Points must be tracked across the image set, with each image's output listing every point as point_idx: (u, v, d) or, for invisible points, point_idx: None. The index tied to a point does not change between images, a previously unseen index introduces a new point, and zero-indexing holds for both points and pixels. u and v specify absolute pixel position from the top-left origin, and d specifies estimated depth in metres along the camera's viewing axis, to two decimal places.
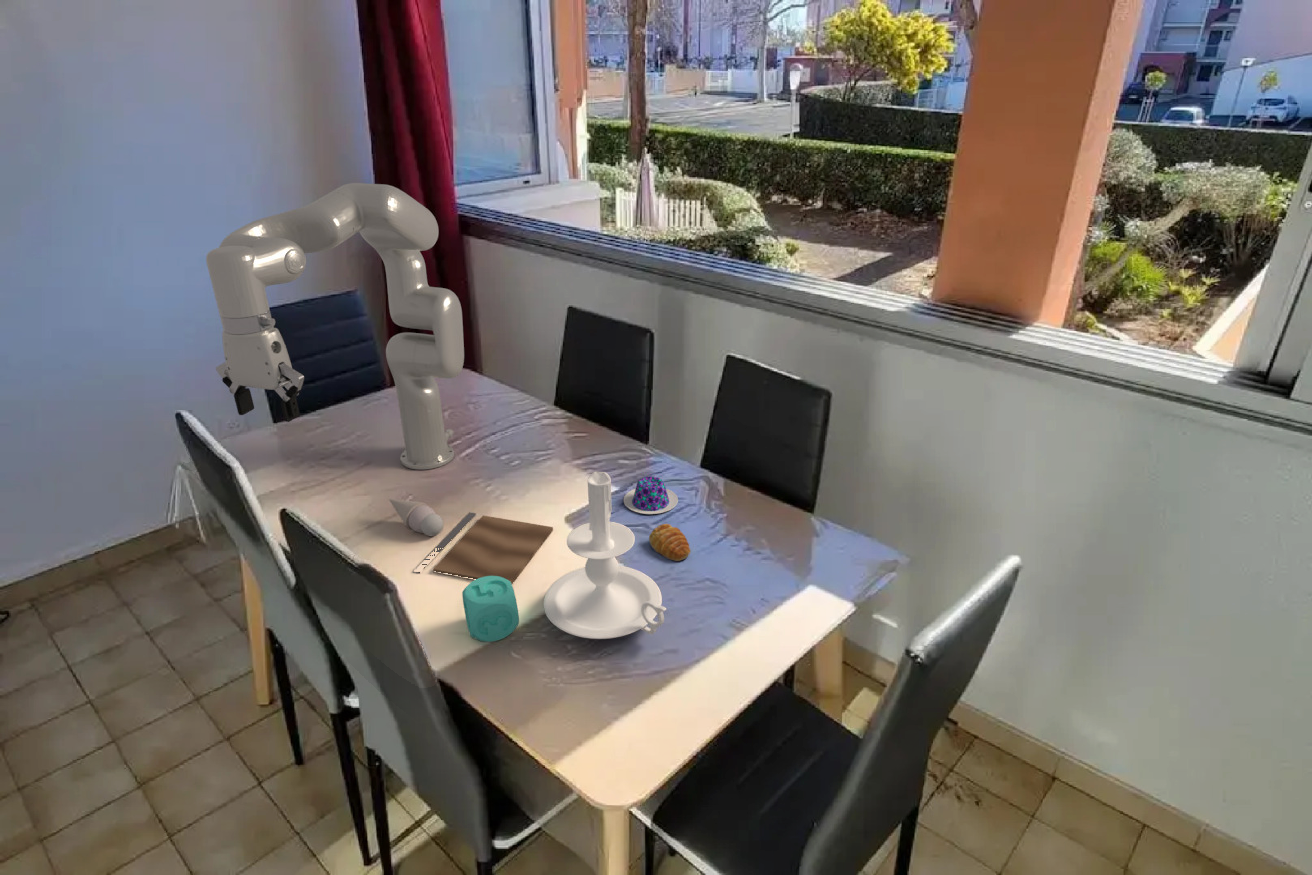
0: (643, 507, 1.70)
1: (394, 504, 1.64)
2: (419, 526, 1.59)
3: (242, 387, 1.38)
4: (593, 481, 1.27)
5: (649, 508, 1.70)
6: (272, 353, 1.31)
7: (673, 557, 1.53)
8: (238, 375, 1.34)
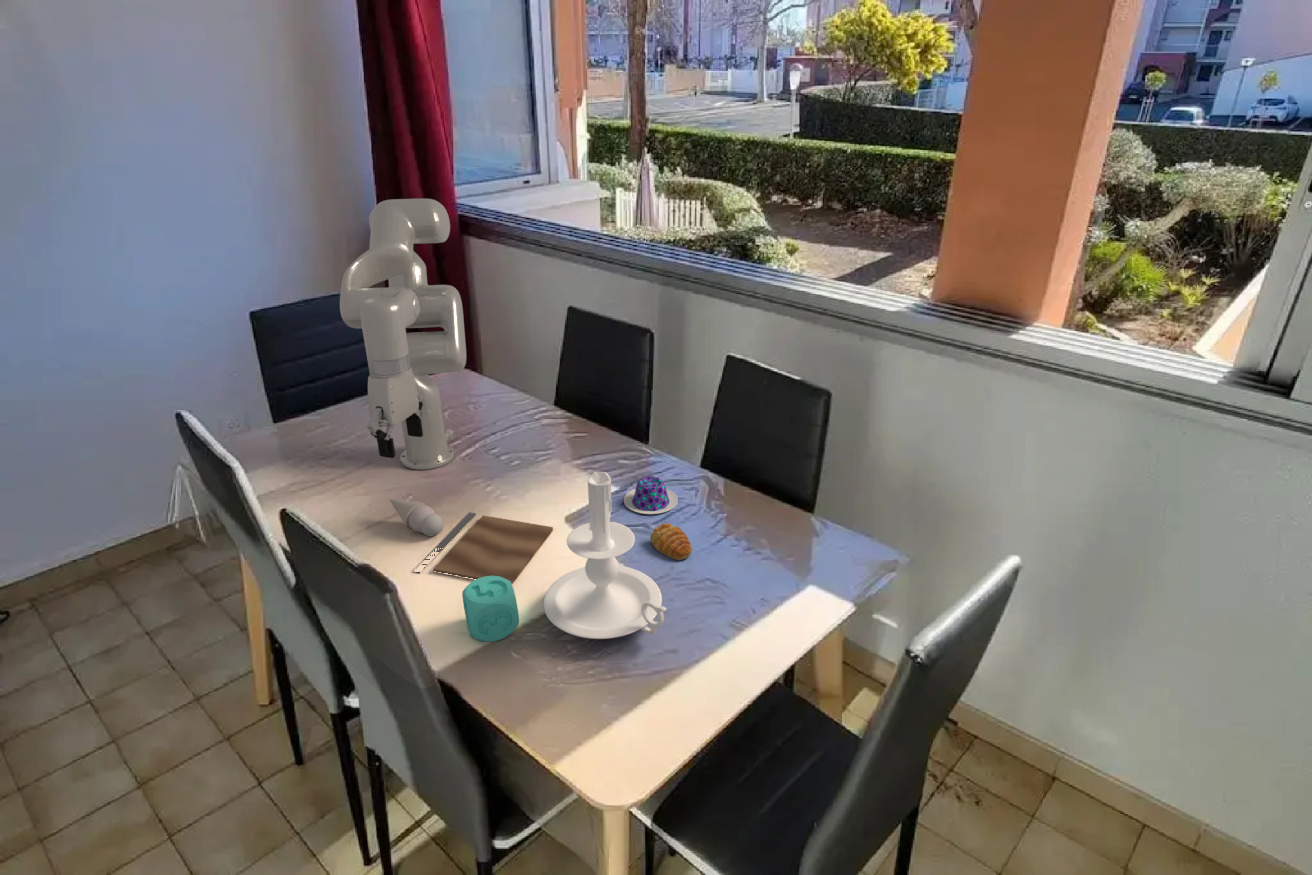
0: (643, 507, 1.70)
1: (394, 504, 1.63)
2: (419, 526, 1.59)
3: None
4: (593, 481, 1.27)
5: (649, 508, 1.70)
6: None
7: (675, 556, 1.53)
8: (399, 413, 1.49)
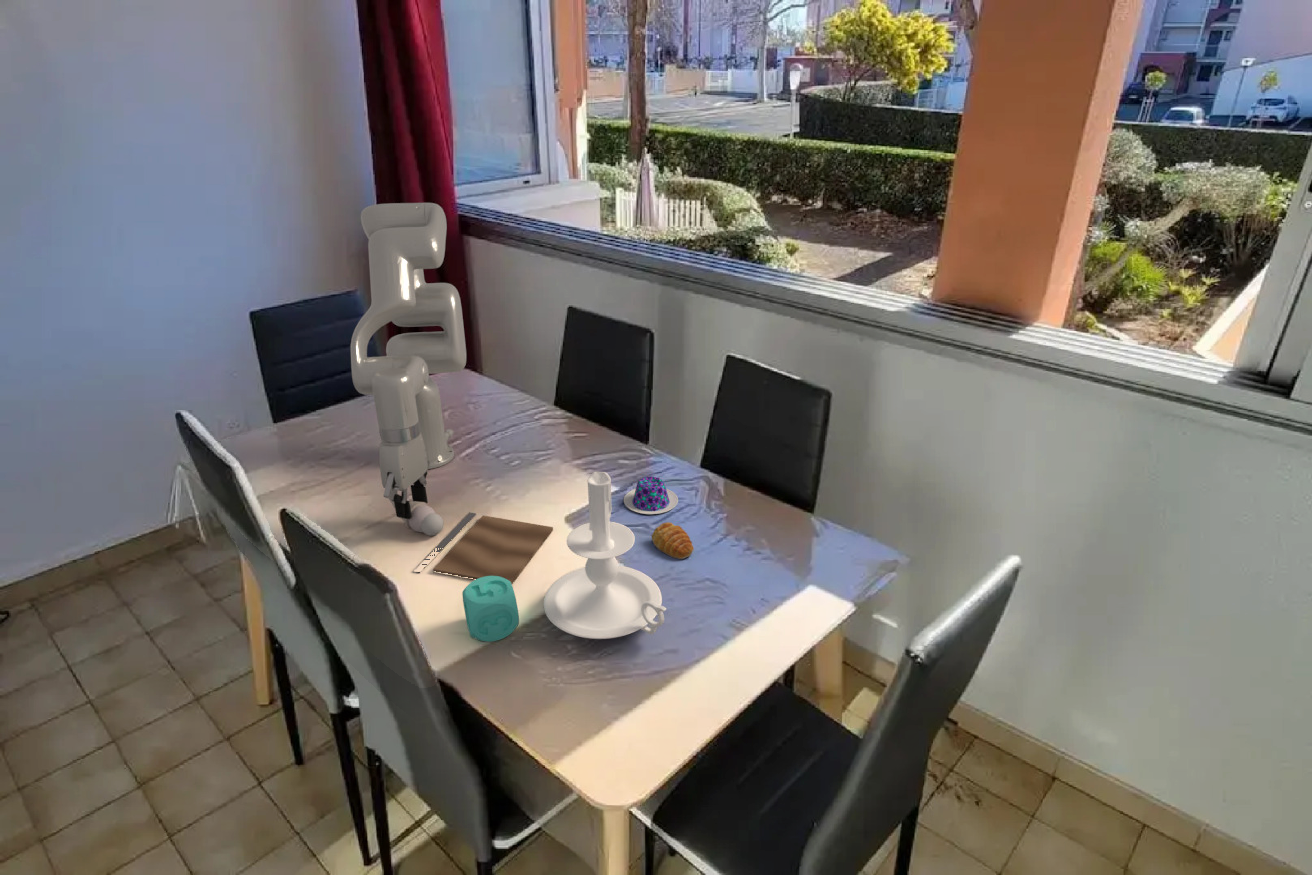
0: (643, 507, 1.70)
1: (394, 504, 1.63)
2: (419, 526, 1.59)
3: None
4: (593, 481, 1.27)
5: (649, 508, 1.70)
6: None
7: (676, 555, 1.53)
8: (409, 477, 1.55)
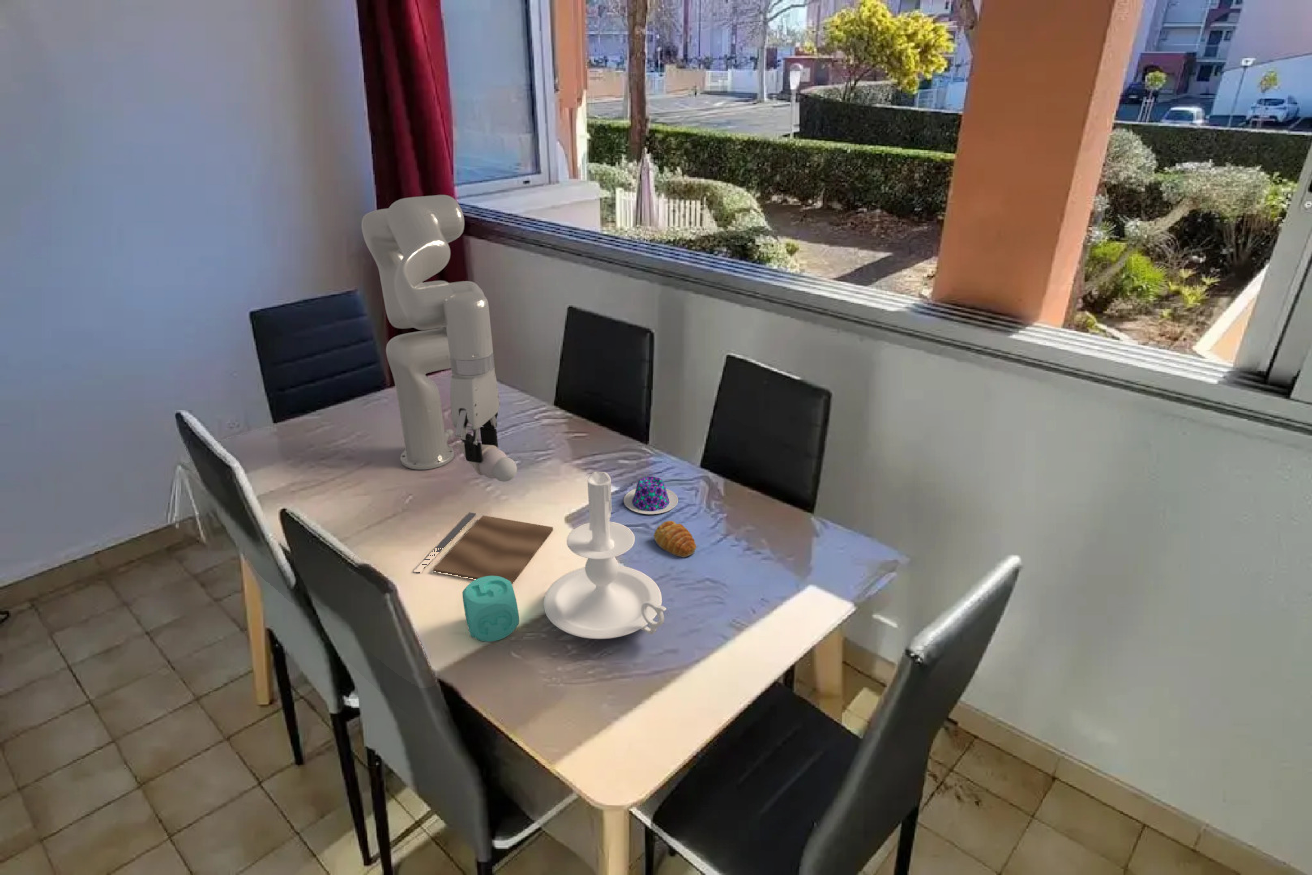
0: (641, 507, 1.70)
1: (461, 448, 1.49)
2: (491, 470, 1.44)
3: None
4: (593, 481, 1.27)
5: (647, 508, 1.70)
6: None
7: (680, 553, 1.54)
8: (482, 415, 1.40)
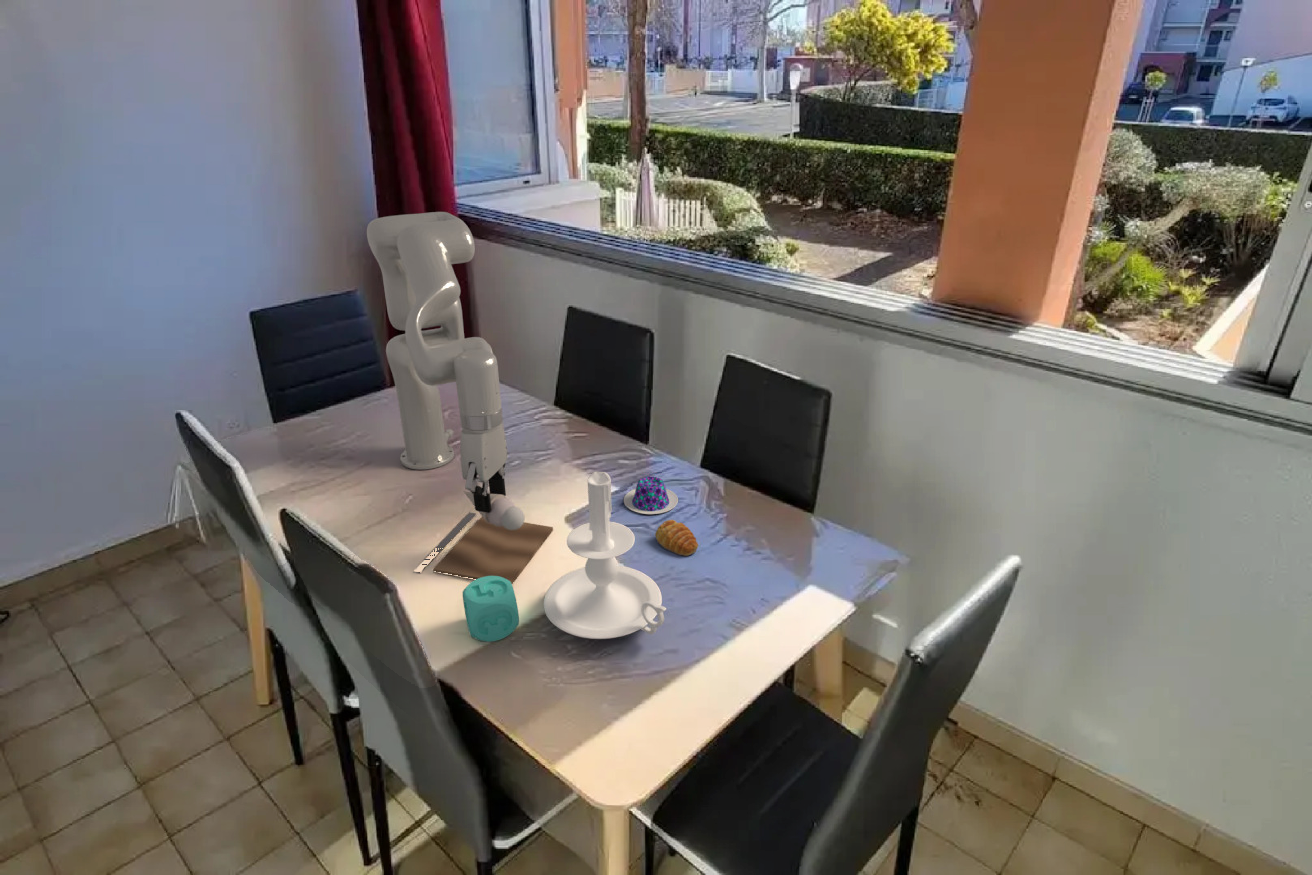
0: (640, 506, 1.70)
1: (470, 497, 1.53)
2: (500, 520, 1.49)
3: None
4: (593, 481, 1.27)
5: (646, 508, 1.70)
6: None
7: (682, 552, 1.54)
8: (491, 468, 1.45)
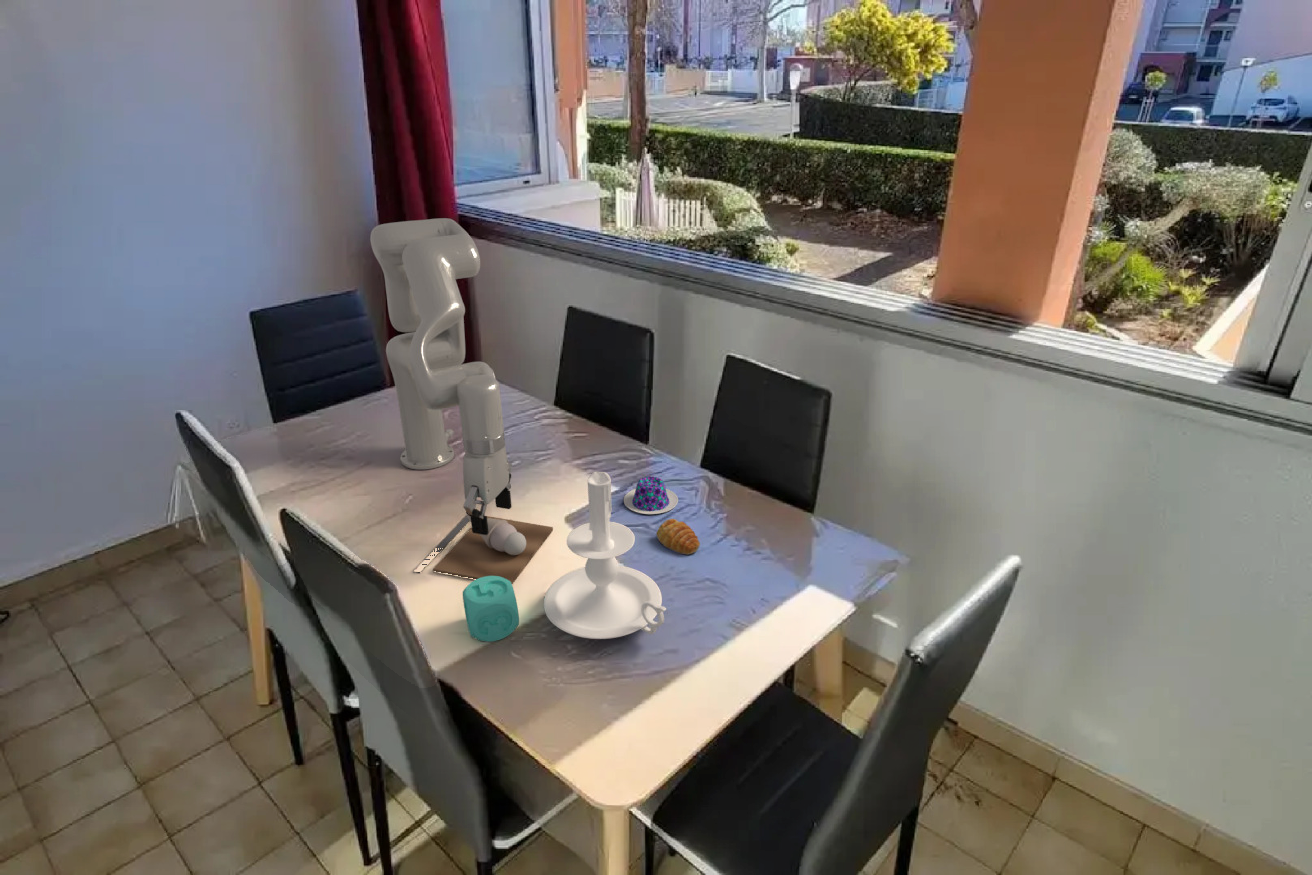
0: (639, 506, 1.70)
1: None
2: (502, 545, 1.51)
3: None
4: (593, 481, 1.27)
5: (645, 508, 1.70)
6: None
7: (684, 551, 1.54)
8: (493, 491, 1.47)
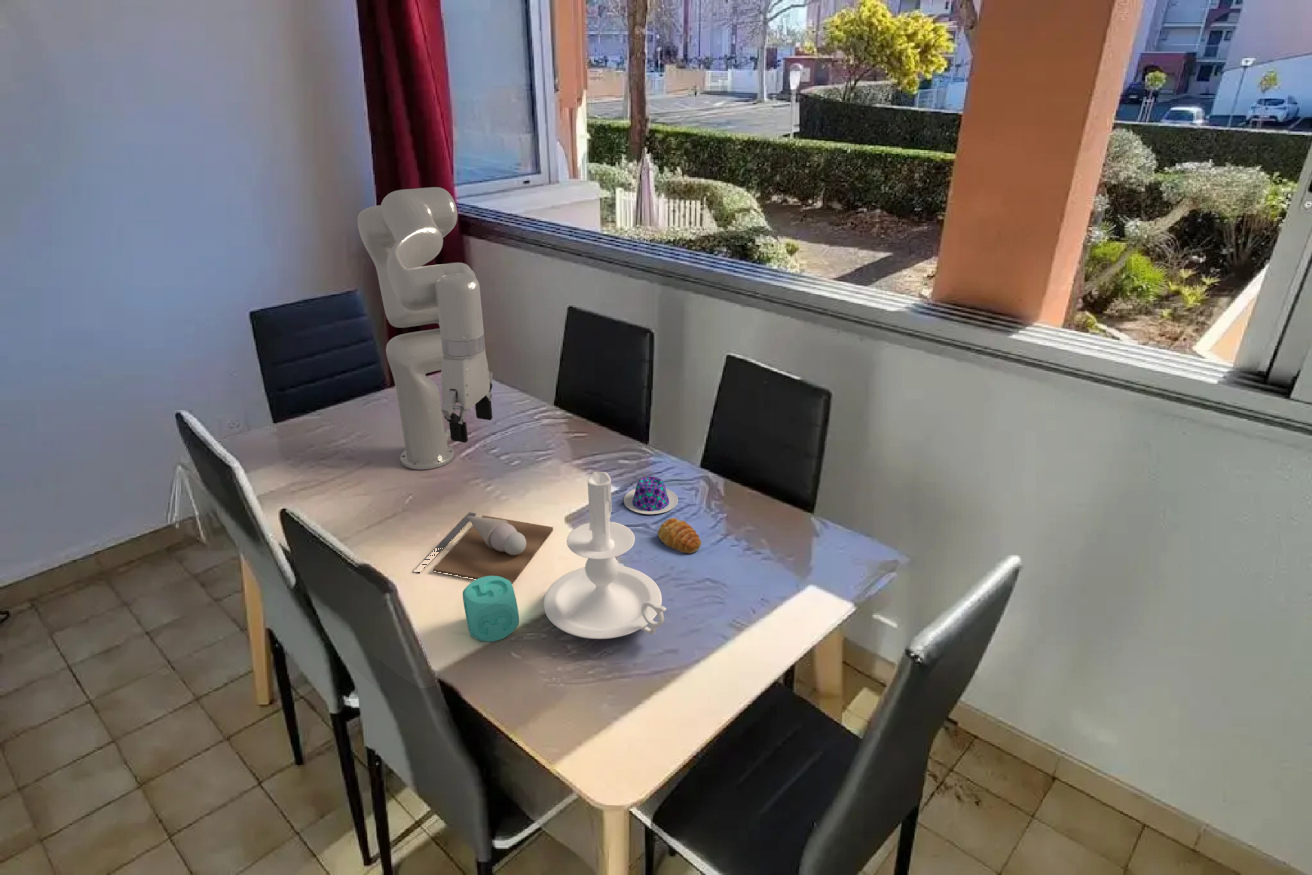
0: (638, 506, 1.70)
1: (473, 521, 1.56)
2: (502, 545, 1.51)
3: None
4: (593, 481, 1.27)
5: (644, 508, 1.70)
6: None
7: (685, 550, 1.55)
8: (473, 396, 1.42)
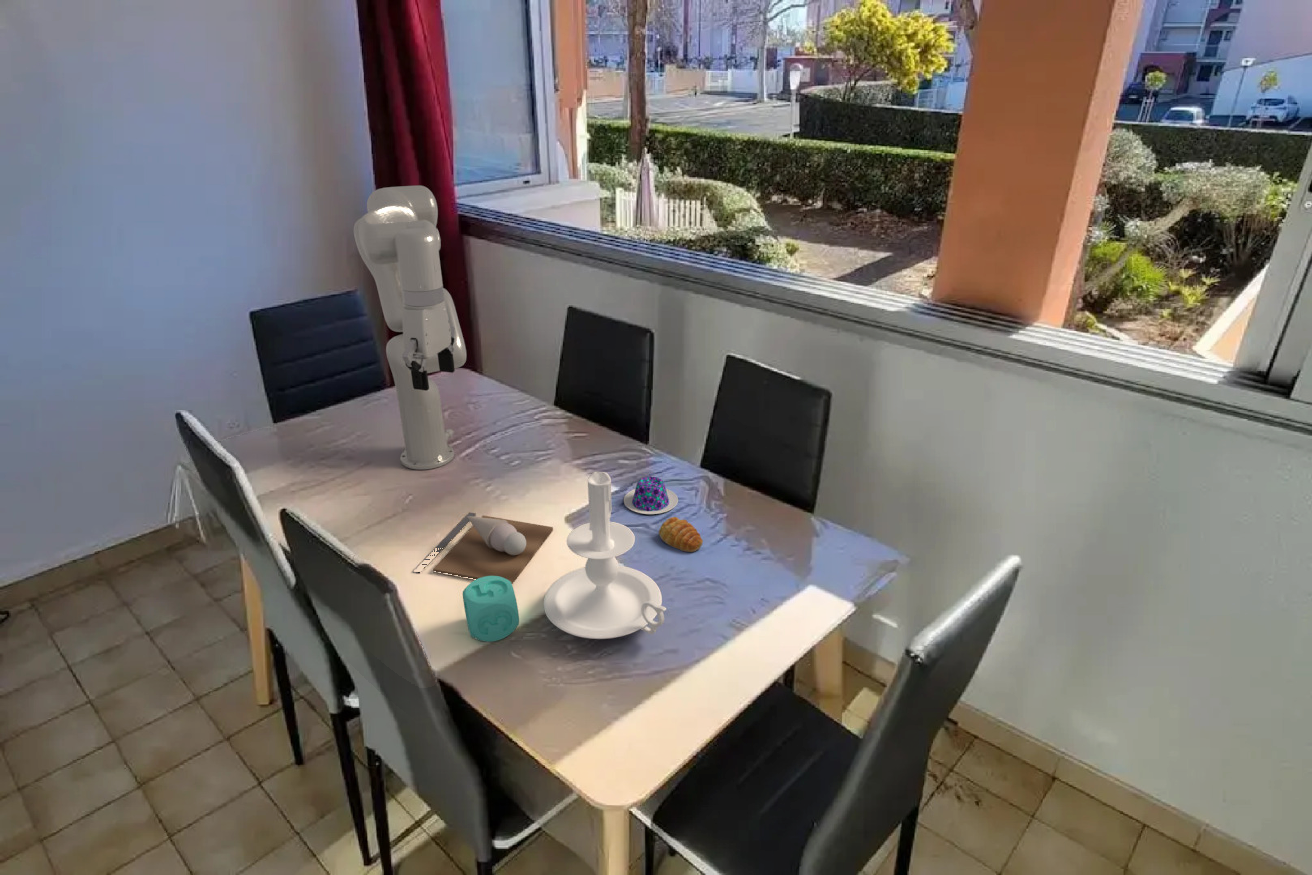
0: (638, 505, 1.70)
1: (473, 521, 1.56)
2: (502, 545, 1.51)
3: None
4: (593, 481, 1.27)
5: (643, 507, 1.70)
6: None
7: (687, 548, 1.55)
8: (433, 346, 1.50)
